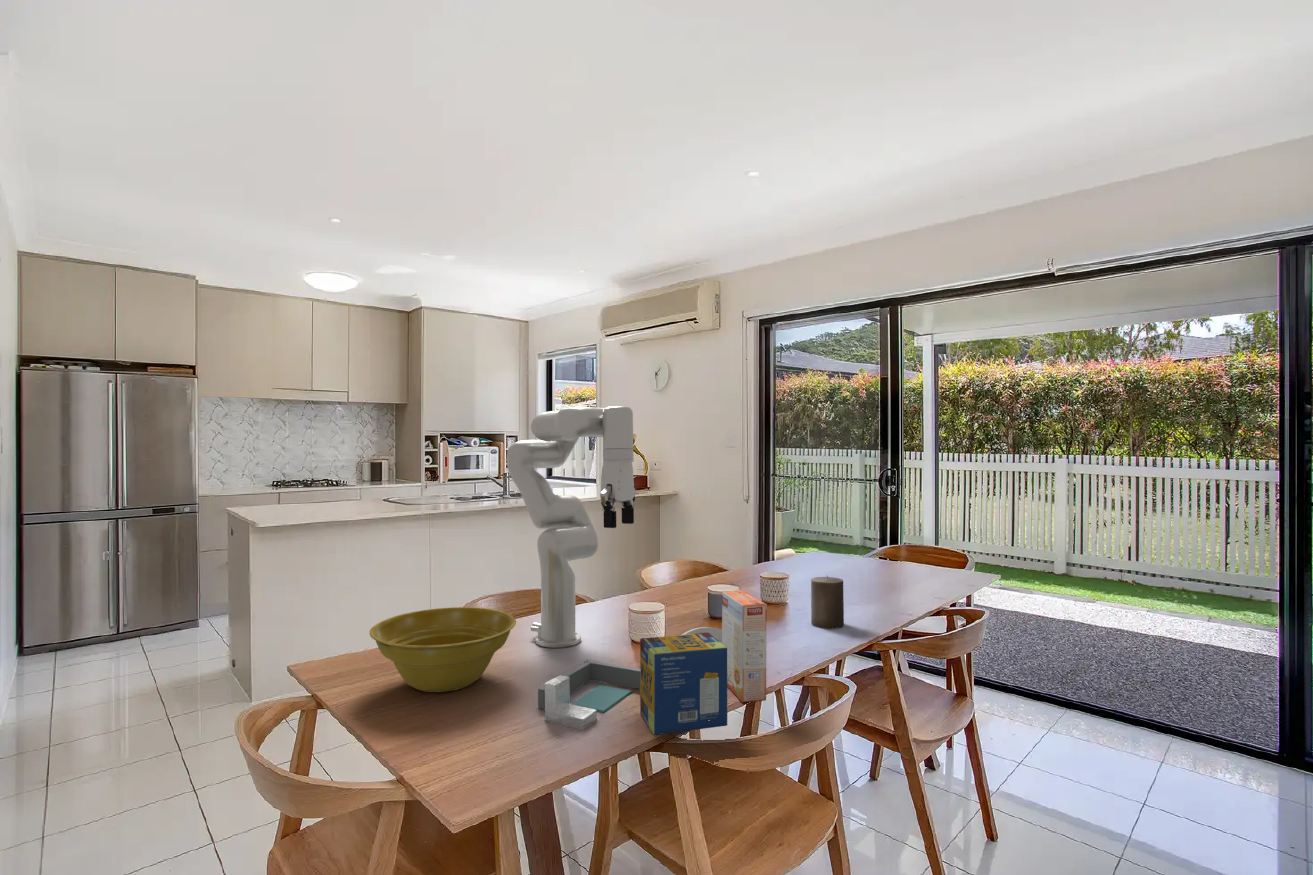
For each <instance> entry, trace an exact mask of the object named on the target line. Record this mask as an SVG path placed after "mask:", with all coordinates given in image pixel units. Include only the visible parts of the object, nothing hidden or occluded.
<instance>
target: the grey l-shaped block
mask: <svg viewBox="0 0 1313 875" xmlns="http://www.w3.org/2000/svg"><path fill="white" fill-rule="evenodd" d="M544 685H545V709H544V722H546V723H547V722H548V723H551V724H555V725H562V726H565V727H571V728H574V729H579V730H582V731H583V730H585V729H586V728H588V727H589V726H591V725H592V724H594V722H596V721H598V711H597V710H595V709H591V708H586V707H581V706H576V705H571V703H570V699H571V698H570V695H571V693H570V677H566V676H562V675H561V674H559V675H557V676H556V677H554V678H552V679H550V680H548V681H546V682H545V683H544Z"/></svg>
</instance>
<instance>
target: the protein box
mask: <svg viewBox="0 0 1313 875" xmlns="http://www.w3.org/2000/svg"><path fill="white" fill-rule="evenodd" d="M639 643H640V644H639V646H640V647H639V651H640V652H639V653H640V654H639V655H640V656H639V658H640V660H639V661H640V663H639V667H640V668H639V669H640V689H639V692H640V694H639V698H640V699H639V701H640V702H639V703H640V707H639V708H640V710H639V711H640V715H641V717H642V718H643V720H644V722H645V724H646V725H647V727H648V728H649V730H650V731H651V733H652V735H653V734H654V736H655V735H656V734H657V735H662V734H661V733H666V734H672V733H673V734H674V733H680V732H687V731H697V730H705V729H711V728H721V727H726V726H728V686H727V647H725V646H724V645H723V644H722V643H720V642H719V641H718V640H717V639H716V638H714V637H713V636H712V635H711V634H710V633H709V632H706V633H696V634H685V635H679V634H677V635H665V636H664V635H662V636H656V637H655V636H654V637H643V638H640V639H639ZM708 720H710V721H708Z"/></svg>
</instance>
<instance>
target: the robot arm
mask: <svg viewBox="0 0 1313 875" xmlns="http://www.w3.org/2000/svg"><path fill="white" fill-rule="evenodd" d="M530 430H531V433H532V434H533V436H534V437H535V438H536V439H525V440H518V441H516V442H514V443H513V442H512V444H511V445H510V446H509V447H508V449H507V452H506V464H507V469H508V473H509V476H510V478H511V480H512V481H513V483H514V484H515V486H516V487H517V489H518V491H519V492H520V495H521V496H522V500H523V502H524V504H525V507H526V509H527V512H528V515H529V517H530V520H531V521H532V523H533V524H534V527H536V528H537V529H539V530H544V531H542V532H541V533H540V534H539V535H538V538H537V545H536V546H537V553H538V558H539V565H540V567H539V568H540V622H533V623H532V624H531V626H530V632H536V633H537V635H536V637H535V640H534V642H535V644H536V645H538V646H540V647H544V648H551V649H552V648H553V649H554V648H555V649H556V648H567V647H571V646H572V647H573V646H575V645H577V644H579V643H580V642H581V641H582V635H581V634H580V633H579V632H576V575H575V572H574V571H573V569H572V568H571V566H570V564H569V562H571V561H576V560H584V559H588V558H591V557H593V556H595V555H596V553H597V551H598V549H599V539H598V534H597V532H596V530H595V529H596V528H595V527H594V525H593V523H592V520H591V518H590V515H589V513H588V512H587V509H586V507H585V505H584V504H583V501H582V500H580V498H578V497H577V496H575V495H571V494H569V495H568V494H565V495H564V494H563V495H557V494H555V493H554V492H553V489H552V488H551V486H550V483H549V482H548V480H547V479H546V478H545V477H544V476H543V475H542V474H541V473H539V472H537V471H536V470H535V469H557V468H560V467H561V466H563V465H564V464H565V462H566V461H567V460H568V457H569V456H570V455H571V453H572V451H573V450H574V448H575V446H576V444H577V442H578V441H579V439H580V438H583V437H585V438H593V437H594V438H602V460H603V462H602V465H601V466H602V467H601V474H600V475H601V476H600V494H599V497H600V501H601V507H602V513H603V528H605V529H616V528H617V510H615V509H616V507H617V504H619V503H621V506H622V507H621V524H624V525H630V524H631V525H632V524H634V523H635V501H636V498H635V497H636V492H637V491H636V489H635V479H634V478H635V476H634V469H633V468H634V467H633V463H634V414H633V410H632V408H631V407H629V406H625V405H624V406H623V405H620V406H619V405H615V406H607V407H596V406H595V407H593V406H574V407H573V406H572V407H565V408H560V409H559V410H550V411H545V412H541V413H539V414H537V415H536V416H534V418H533V419H532V421H531V423H530Z"/></svg>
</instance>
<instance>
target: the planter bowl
mask: <svg viewBox="0 0 1313 875" xmlns="http://www.w3.org/2000/svg"><path fill="white" fill-rule="evenodd" d="M516 623H517V620H516V618H515V617H514V616H513V615H511V614H510V613H507V612H504V611H503V610H502V611H501V610H498V609H492V608H487V607H486V608H484V607H473V606H472V607H470V606H469V607H468V606H465V607H464V606H463V607H462V606H461V607H460V606H459V607H458V606H456V607H441V608H440V607H439V608H437V607H436V608H431V609H423V610H416V611H411V612H406V613H402V614H399V615H394V616H392V617H389V618H386V619H383V620H381V621H379V622H378V623H376V624H375V625H373V626H372V627H371V628H370V630H369V636H370V638H371V639H372V640H374V641H375V642H376V645H377V647H378V650H379V652H380V653H381V654H382V656H383V657H385V658H386V659H388V660H390V661H391V662H392V663H393V664H394V666H395V669H396V670H397V673H399V675H400V676H401V678H402V679H403V681H404V682H405V683H406V684H407V685H408V686H411V687H412V688H413V689H416V690H417V691H422V692H426V693H427V692H428V693H444V692H445V693H446V692H452V691H456V690H457V691H458V690H460V689H464V688H467V687H468V686H470V685H472V684H473V683H475V681H477V680H478V679H480V678H481V677H482V675H483V674H484V673H485V671H486V669H487V667H488V666H489V664H490V663H491V661H492V658H493V656H494V654H495V653H496V652H497V651H498V650H500V649H501V648H502V647H503V646H504V645H505V643H506V642H507V640H508V638H509V635H510V634H511V630H513V628H514V627H515V626H516V625H517V624H516Z"/></svg>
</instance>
